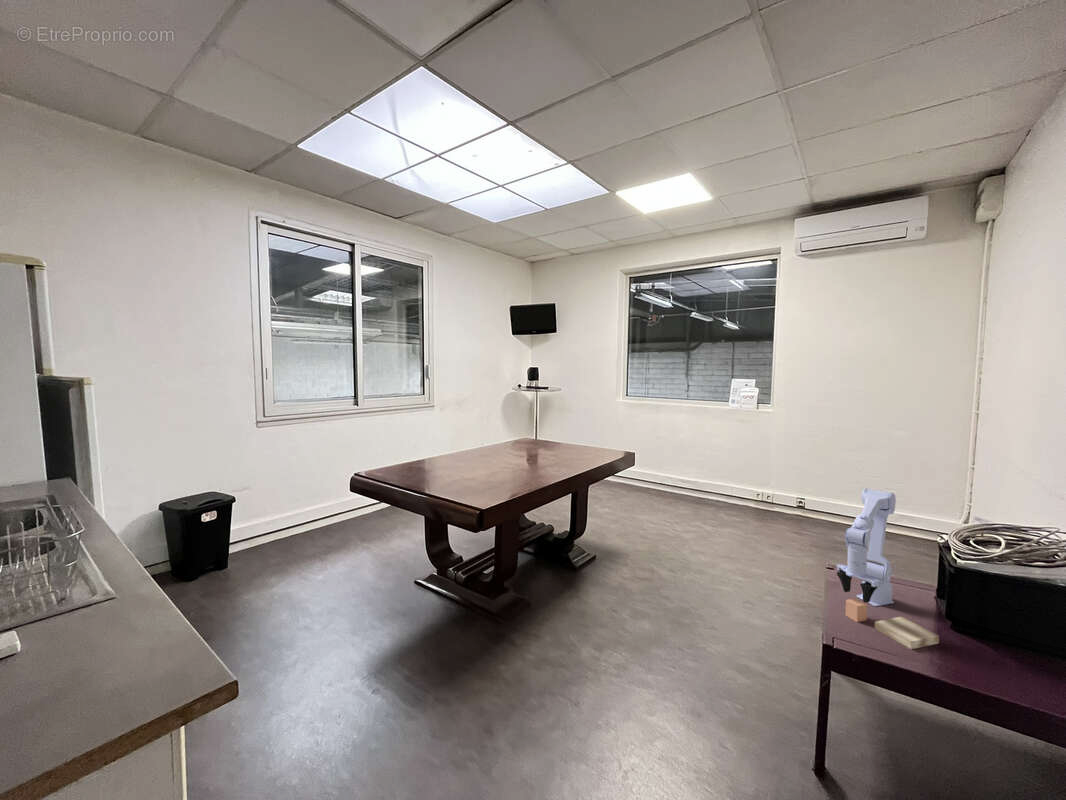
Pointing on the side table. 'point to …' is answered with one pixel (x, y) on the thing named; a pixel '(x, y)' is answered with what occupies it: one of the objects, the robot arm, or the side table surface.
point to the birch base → (906, 632)
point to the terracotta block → (856, 610)
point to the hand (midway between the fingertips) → (856, 596)
